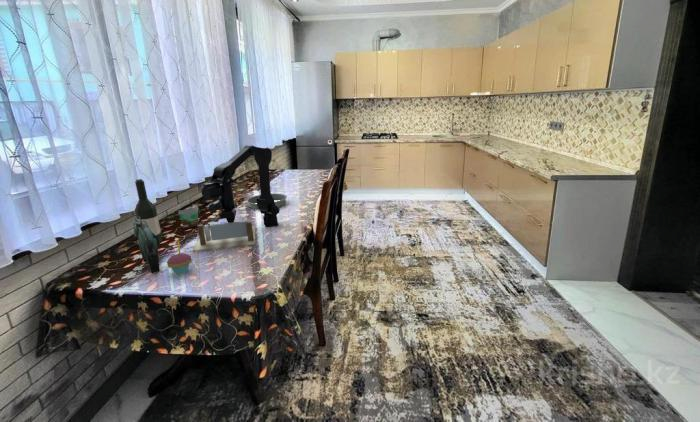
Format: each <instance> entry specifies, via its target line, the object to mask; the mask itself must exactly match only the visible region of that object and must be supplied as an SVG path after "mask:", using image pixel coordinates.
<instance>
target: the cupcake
mask: <svg viewBox="0 0 700 422" xmlns="http://www.w3.org/2000/svg"><path fill="white" fill-rule="evenodd" d="M177 251H178V253H176V254H172V255H171V256H170V257H169V258H168V259H167V260H166V264H167V265H166V266H167V267H168V268H171V270H172V271H173V273H174V274H175V275H184V274H187V273H188V272H189V268H190V264H191V263H192V255H190V254H189V253H183V252H181V245H180V242H179V240H177Z"/></svg>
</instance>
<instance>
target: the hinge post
mask: <svg viewBox="0 0 700 422" xmlns="http://www.w3.org/2000/svg"><path fill="white" fill-rule="evenodd" d="M196 227H197V232H198V238H199V239H200V244H201V245H206V240H205V234H204V232H205V230H204V224H203V223H202V224H201V223H200V224H198V225H197V226H196Z"/></svg>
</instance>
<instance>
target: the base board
mask: <svg viewBox="0 0 700 422" xmlns="http://www.w3.org/2000/svg"><path fill="white" fill-rule="evenodd" d="M252 229H253V237H254V241H248V236H246V237H238V238H229V239H221V240H213V241H212V237H211V241H206V245H201V244H200V239H199V237H198V238H197V240H196V242H195V244H194V246H193V248H192V252H193V253H201V252H206V251H214V250H224V249H231V248H239V247H246V246H255V245H256V235H257V234H256V231H257V230H256V225H252ZM204 234H205V231H204ZM210 236H211V231H210ZM205 240H206V235H205Z"/></svg>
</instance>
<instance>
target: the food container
mask: <svg viewBox="0 0 700 422" xmlns="http://www.w3.org/2000/svg"><path fill="white" fill-rule="evenodd" d="M199 210H200V208H199V207H198V205H197V204H194V203H193V204H191V206H189V207H185V208H184V209H183V210H182V209H180V210H178V211H177V212H178V215H179V218H180V221H181V225H182V228H183V229H189V228H190V229H191V228H195V227H197V226H198V225H200V224H199V212H198V211H199Z"/></svg>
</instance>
